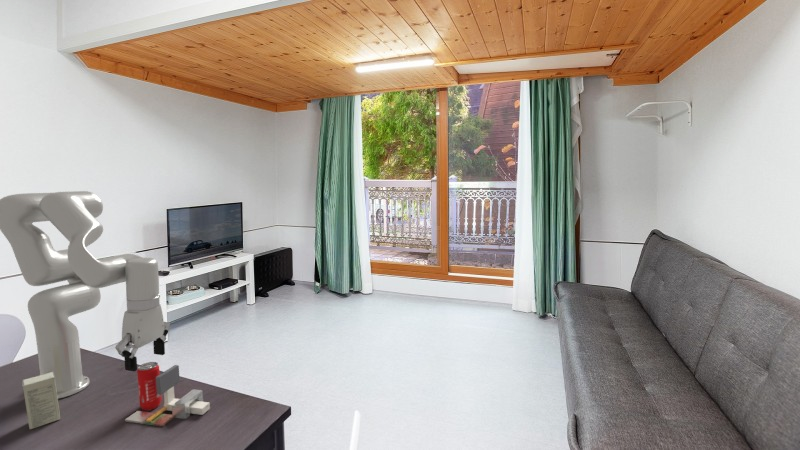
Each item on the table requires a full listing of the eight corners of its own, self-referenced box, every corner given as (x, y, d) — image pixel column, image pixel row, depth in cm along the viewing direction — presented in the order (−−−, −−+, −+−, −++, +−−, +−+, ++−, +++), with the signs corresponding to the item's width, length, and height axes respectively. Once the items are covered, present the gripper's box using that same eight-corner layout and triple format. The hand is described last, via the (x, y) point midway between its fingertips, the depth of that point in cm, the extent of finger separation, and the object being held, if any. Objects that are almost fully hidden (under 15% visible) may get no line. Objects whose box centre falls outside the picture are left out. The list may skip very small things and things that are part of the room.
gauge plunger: (146, 423, 103) (143, 384, 102) (177, 400, 114) (174, 365, 113) (187, 428, 101) (184, 389, 100) (214, 404, 112) (212, 368, 110)
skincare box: (59, 412, 108) (54, 370, 107) (60, 419, 105) (56, 376, 104) (27, 423, 104) (22, 379, 102) (27, 430, 100) (22, 385, 99)
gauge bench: (124, 421, 104) (123, 406, 104) (157, 398, 115) (156, 385, 115) (174, 428, 102) (173, 412, 101) (203, 404, 112) (202, 390, 112)
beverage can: (151, 412, 108) (148, 371, 107) (135, 409, 110) (132, 369, 108) (166, 401, 114) (163, 362, 112) (150, 399, 115) (147, 360, 113)
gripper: (156, 292, 117) (158, 347, 119) (102, 312, 100) (106, 375, 102) (178, 295, 116) (180, 350, 118) (128, 315, 99) (131, 379, 101)
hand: (145, 361), depth 110 cm, fingers open, 9 cm apart
